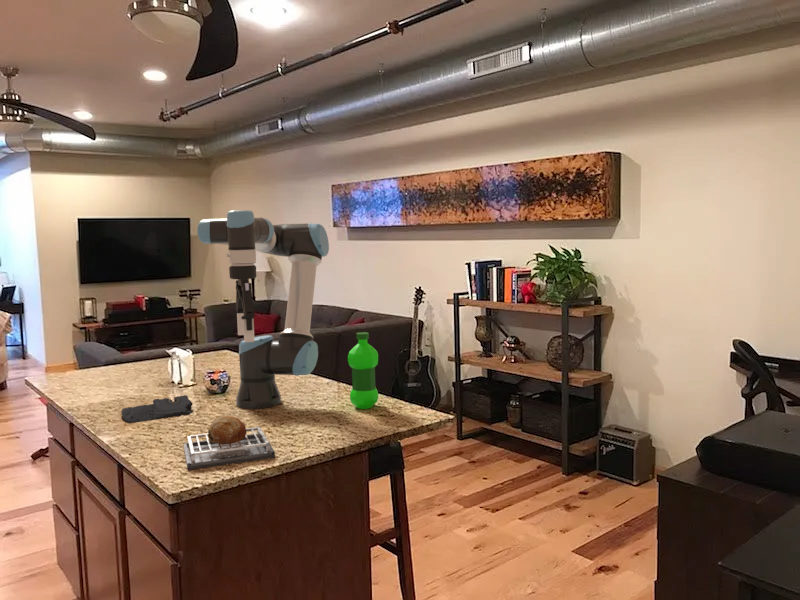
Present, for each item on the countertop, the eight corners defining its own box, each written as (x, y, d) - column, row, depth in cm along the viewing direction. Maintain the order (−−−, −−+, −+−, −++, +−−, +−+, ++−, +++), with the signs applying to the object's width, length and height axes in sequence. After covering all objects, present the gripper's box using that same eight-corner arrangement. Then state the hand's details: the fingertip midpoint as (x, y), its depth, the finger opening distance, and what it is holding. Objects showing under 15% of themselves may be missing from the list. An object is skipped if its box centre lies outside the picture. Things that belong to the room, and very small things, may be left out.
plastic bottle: (379, 402, 230) (377, 330, 227) (379, 410, 219) (377, 335, 217) (350, 403, 229) (348, 331, 227) (348, 411, 219) (346, 336, 216)
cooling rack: (183, 448, 185) (182, 435, 184) (263, 438, 193) (263, 425, 192) (187, 470, 168) (186, 455, 168) (275, 457, 176) (274, 443, 176)
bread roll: (207, 450, 182) (194, 427, 179) (236, 427, 188) (224, 404, 185) (227, 458, 175) (214, 435, 172) (256, 433, 181) (244, 410, 178)
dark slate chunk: (118, 414, 223) (117, 400, 222) (186, 404, 234) (185, 391, 233) (125, 426, 210) (124, 411, 209) (196, 415, 221) (195, 400, 220)
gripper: (224, 263, 201) (227, 333, 203) (234, 267, 178) (238, 346, 180) (249, 262, 204) (252, 331, 206) (263, 266, 181) (266, 343, 183)
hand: (246, 338), depth 193 cm, fingers open, 13 cm apart
